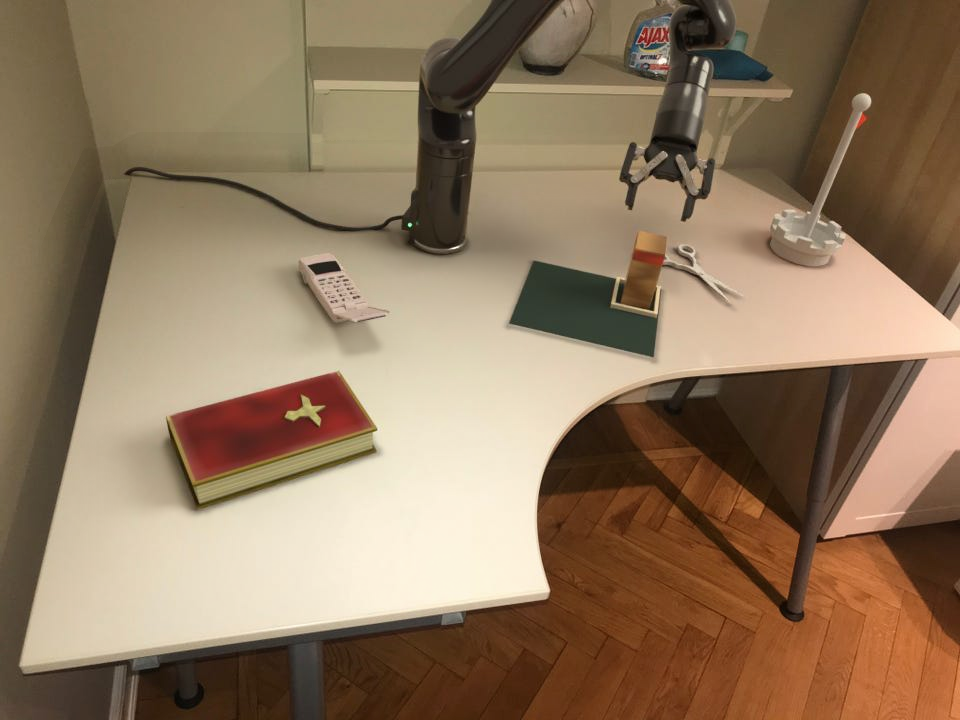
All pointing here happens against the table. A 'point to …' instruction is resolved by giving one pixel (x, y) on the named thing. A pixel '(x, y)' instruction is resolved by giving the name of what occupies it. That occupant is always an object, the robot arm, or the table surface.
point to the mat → (585, 309)
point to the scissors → (696, 269)
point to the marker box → (644, 270)
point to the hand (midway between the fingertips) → (657, 214)
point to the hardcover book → (269, 437)
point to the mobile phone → (336, 289)
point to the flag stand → (816, 210)
